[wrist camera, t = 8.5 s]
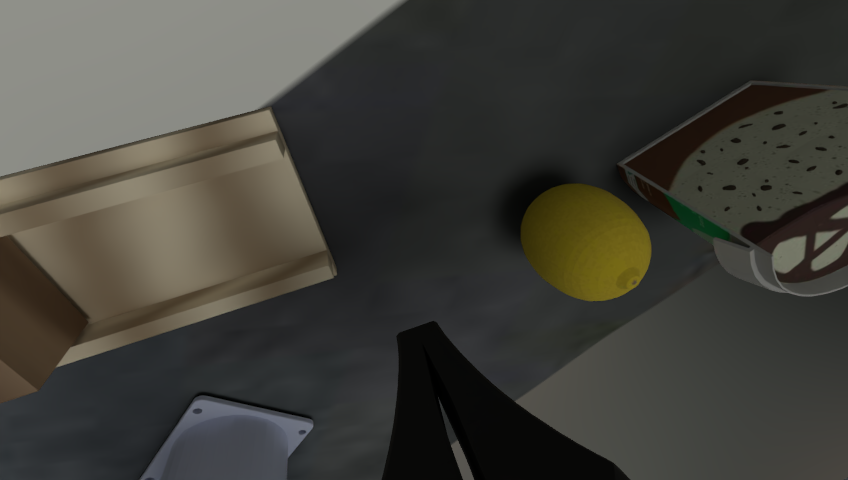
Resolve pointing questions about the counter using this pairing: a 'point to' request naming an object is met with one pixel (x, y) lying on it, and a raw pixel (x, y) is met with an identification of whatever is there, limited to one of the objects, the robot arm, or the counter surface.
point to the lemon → (585, 242)
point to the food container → (759, 183)
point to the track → (168, 229)
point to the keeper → (31, 324)
